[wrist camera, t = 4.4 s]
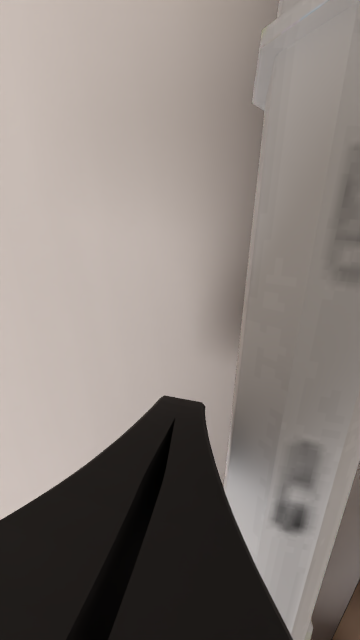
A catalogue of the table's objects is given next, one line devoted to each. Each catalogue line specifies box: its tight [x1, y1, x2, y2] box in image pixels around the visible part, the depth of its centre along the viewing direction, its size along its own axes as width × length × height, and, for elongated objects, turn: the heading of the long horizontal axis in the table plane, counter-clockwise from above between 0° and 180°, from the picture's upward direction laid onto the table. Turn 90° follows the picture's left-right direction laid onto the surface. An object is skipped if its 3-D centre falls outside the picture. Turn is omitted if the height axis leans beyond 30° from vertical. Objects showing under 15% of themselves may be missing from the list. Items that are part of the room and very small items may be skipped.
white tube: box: [224, 0, 360, 640], centre depth 9 cm, size 5×7×25 cm
